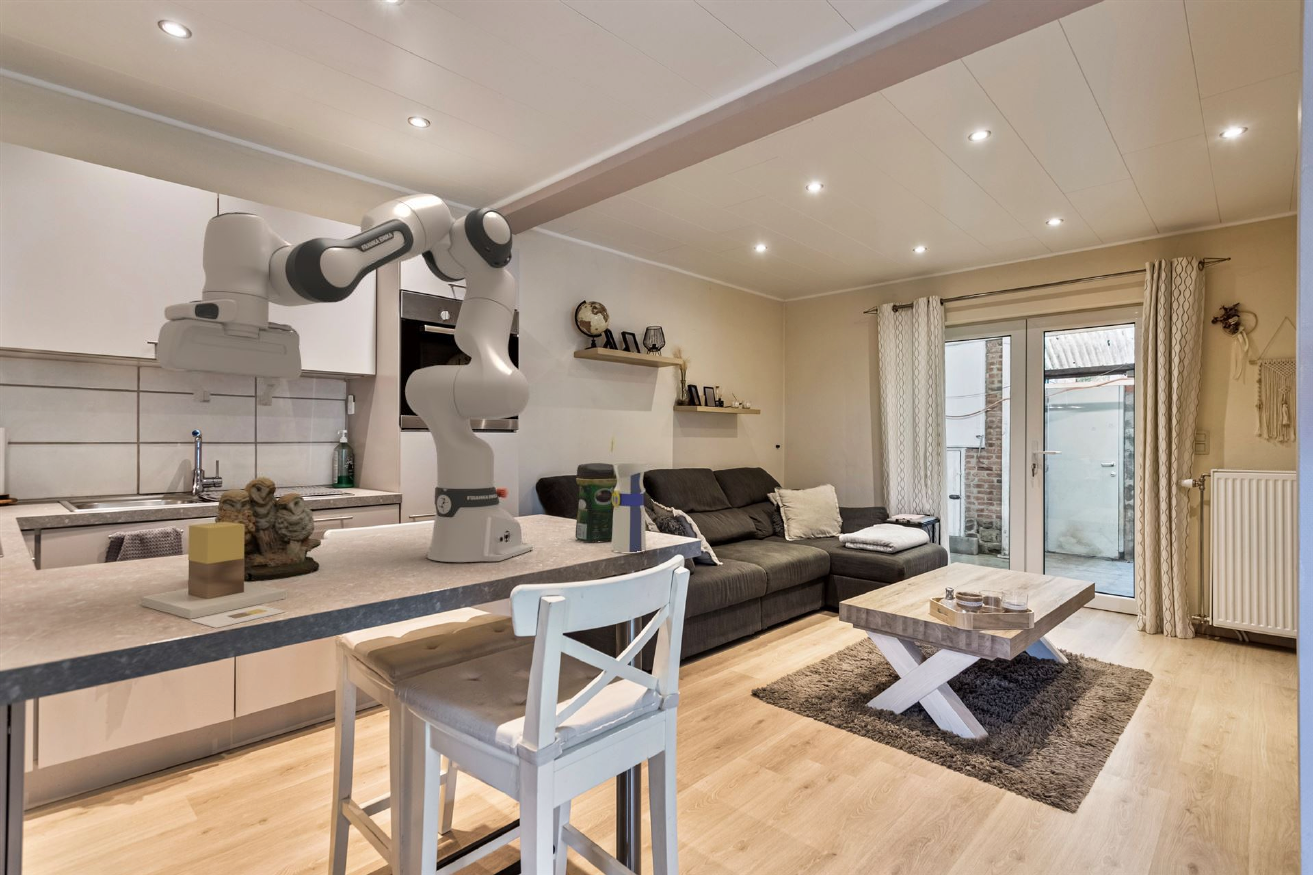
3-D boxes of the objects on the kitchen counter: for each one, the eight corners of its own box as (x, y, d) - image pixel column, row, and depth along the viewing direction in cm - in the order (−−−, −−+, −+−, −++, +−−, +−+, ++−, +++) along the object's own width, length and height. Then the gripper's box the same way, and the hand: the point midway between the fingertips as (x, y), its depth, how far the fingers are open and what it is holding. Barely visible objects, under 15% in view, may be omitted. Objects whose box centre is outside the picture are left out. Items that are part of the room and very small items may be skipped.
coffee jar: (604, 536, 164) (606, 462, 164) (621, 540, 158) (622, 463, 157) (570, 539, 159) (571, 462, 159) (585, 544, 152) (587, 464, 152)
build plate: (236, 587, 104) (236, 579, 104) (286, 598, 98) (286, 590, 98) (140, 605, 93) (141, 596, 93) (190, 618, 87) (190, 609, 87)
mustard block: (224, 554, 99) (225, 521, 99) (244, 558, 97) (244, 524, 97) (188, 559, 95) (188, 525, 95) (207, 563, 92) (208, 528, 92)
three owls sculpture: (206, 588, 104) (207, 480, 104) (194, 576, 113) (195, 477, 113) (328, 573, 116) (329, 476, 116) (309, 563, 125) (309, 473, 125)
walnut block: (224, 587, 99) (225, 554, 99) (243, 592, 97) (244, 558, 97) (188, 594, 95) (188, 560, 95) (207, 599, 92) (208, 563, 92)
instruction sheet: (259, 605, 94) (259, 604, 94) (285, 611, 91) (285, 610, 91) (190, 620, 86) (190, 619, 86) (216, 628, 83) (216, 626, 83)
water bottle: (619, 555, 139) (621, 437, 139) (603, 548, 146) (605, 436, 146) (654, 552, 142) (656, 437, 142) (636, 546, 150) (638, 437, 150)
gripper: (287, 327, 114) (286, 407, 114) (151, 306, 96) (150, 400, 96) (310, 325, 111) (309, 407, 111) (174, 302, 93) (173, 400, 93)
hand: (234, 404), depth 103 cm, fingers open, 8 cm apart
